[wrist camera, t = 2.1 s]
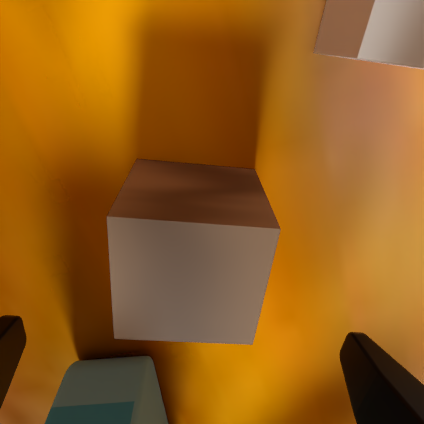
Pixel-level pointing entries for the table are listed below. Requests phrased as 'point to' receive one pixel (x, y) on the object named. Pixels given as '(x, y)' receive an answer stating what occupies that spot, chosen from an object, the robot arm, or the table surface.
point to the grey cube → (190, 253)
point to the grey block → (373, 31)
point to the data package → (109, 393)
